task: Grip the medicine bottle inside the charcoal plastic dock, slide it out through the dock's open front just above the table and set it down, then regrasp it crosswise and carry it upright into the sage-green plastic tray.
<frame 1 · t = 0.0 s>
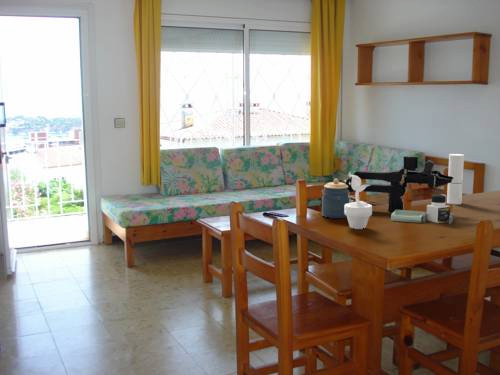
hand: (452, 179, 275), 17 cm above the table, tool horizontal, fingers open, 9 cm apart
canister: (335, 216, 276), on the table
medicine bottle: (437, 221, 265), on the table
potted plant: (358, 228, 252), on the table
dock: (437, 220, 265), on the table
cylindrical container: (454, 203, 305), on the table
tray: (407, 218, 270), on the table
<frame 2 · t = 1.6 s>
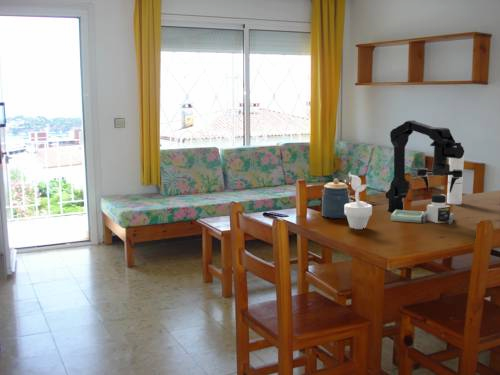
hand: (439, 192, 263), 13 cm above the table, tool pointing down, fingers open, 9 cm apart
nothing on the table moved.
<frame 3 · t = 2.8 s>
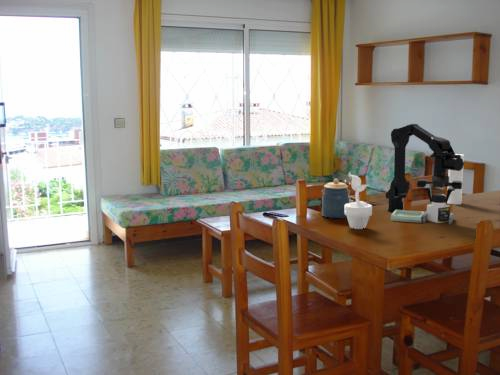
hand: (438, 203, 263), 8 cm above the table, tool pointing down, fingers closed on medicine bottle, 6 cm apart
medicine bottle: (437, 221, 265), on the table, touching gripper
everything else where it was.
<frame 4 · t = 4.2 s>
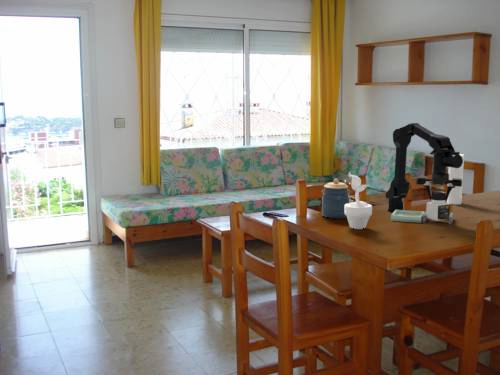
hand: (438, 200, 261), 10 cm above the table, tool pointing down, fingers closed on medicine bottle, 6 cm apart
medicine bottle: (437, 219, 262), point 1 cm above the table, touching gripper
everything else where it was.
when the fingers open (9 cm above the table, at t = 5.9 s): medicine bottle drops 1 cm, on the table.
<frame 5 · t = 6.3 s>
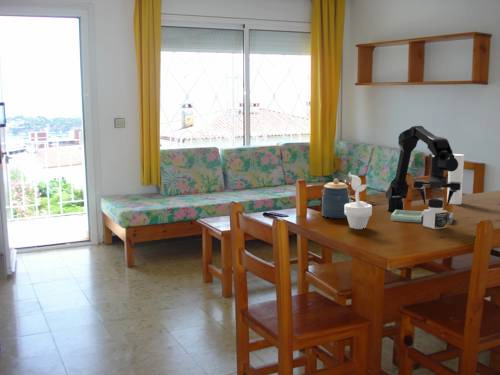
hand: (436, 204, 252), 9 cm above the table, tool pointing down, fingers open, 9 cm apart
medicine bottle: (434, 227, 254), on the table
everything else where it was.
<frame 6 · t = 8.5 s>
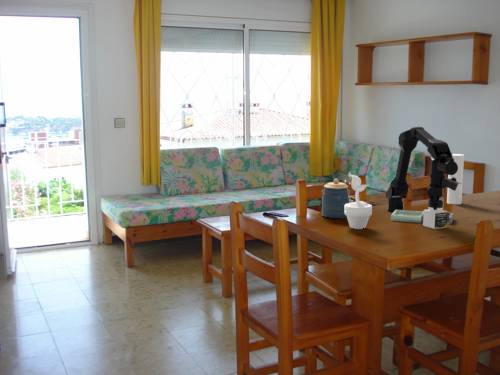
hand: (435, 208, 252), 8 cm above the table, tool pointing down, fingers closed on medicine bottle, 6 cm apart
medicine bottle: (434, 227, 254), on the table, touching gripper
everything else where it was.
when the fingers open (10 cm above the table, at t = 12.6 s): medicine bottle stays where it is, resting on tray.
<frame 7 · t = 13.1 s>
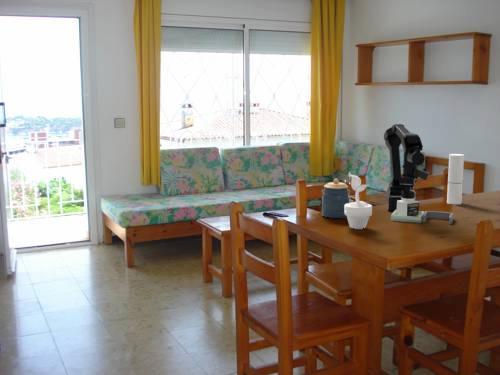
hand: (408, 197, 268), 10 cm above the table, tool pointing down, fingers open, 9 cm apart
medicine bottle: (407, 216, 270), point 1 cm above the table, touching tray
everything else where it was.
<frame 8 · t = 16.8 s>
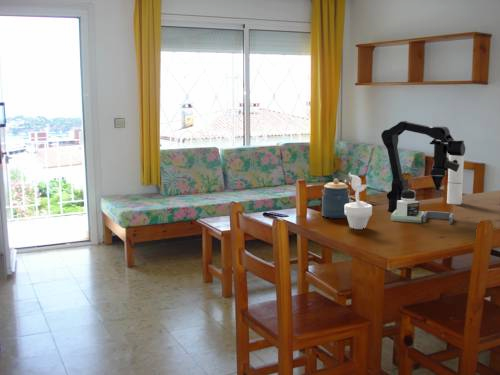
hand: (438, 188, 272), 13 cm above the table, tool pointing down, fingers open, 9 cm apart
nothing on the table moved.
at the end: medicine bottle 0.2 cm off-centre on the tray, point 0.8 cm above the tray's base; medicine bottle tilted 0°; the gripper is holding nothing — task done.
